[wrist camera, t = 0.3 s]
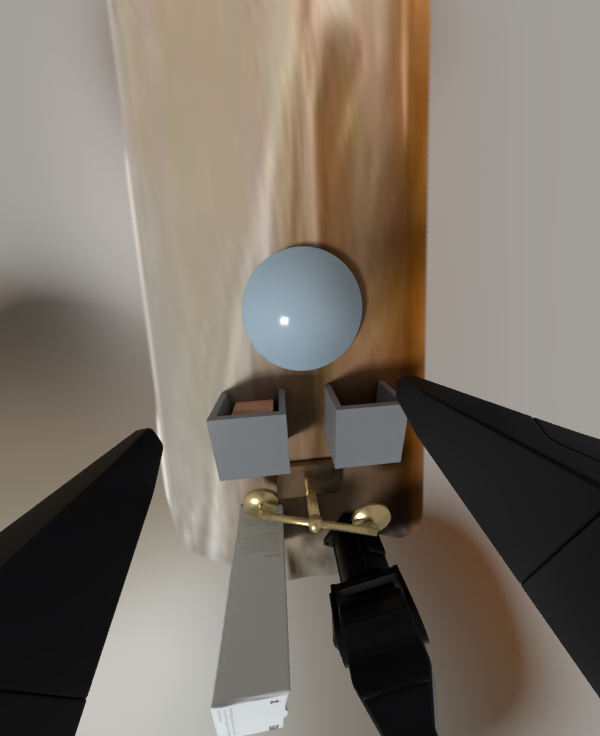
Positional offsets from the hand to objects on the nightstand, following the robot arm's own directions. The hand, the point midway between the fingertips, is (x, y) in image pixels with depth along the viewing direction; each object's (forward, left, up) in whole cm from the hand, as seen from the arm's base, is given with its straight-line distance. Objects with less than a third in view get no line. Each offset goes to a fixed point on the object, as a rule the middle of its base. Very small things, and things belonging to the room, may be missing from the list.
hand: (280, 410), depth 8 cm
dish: (+3, -1, -14) cm, 15 cm away
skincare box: (-26, -9, -15) cm, 31 cm away
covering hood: (-10, -2, -14) cm, 17 cm away
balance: (-15, -11, -14) cm, 24 cm away
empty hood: (-4, -11, -14) cm, 19 cm away
